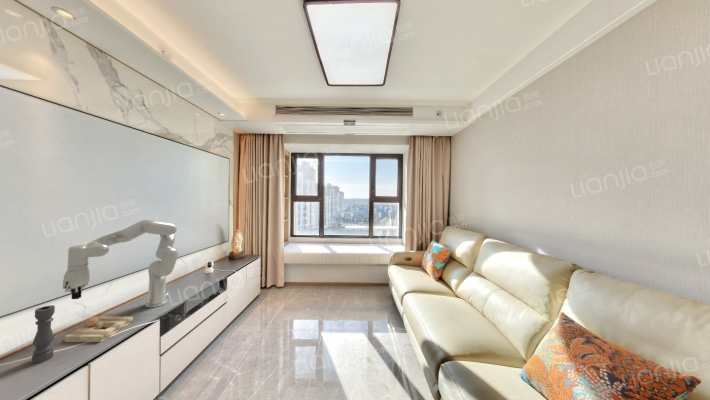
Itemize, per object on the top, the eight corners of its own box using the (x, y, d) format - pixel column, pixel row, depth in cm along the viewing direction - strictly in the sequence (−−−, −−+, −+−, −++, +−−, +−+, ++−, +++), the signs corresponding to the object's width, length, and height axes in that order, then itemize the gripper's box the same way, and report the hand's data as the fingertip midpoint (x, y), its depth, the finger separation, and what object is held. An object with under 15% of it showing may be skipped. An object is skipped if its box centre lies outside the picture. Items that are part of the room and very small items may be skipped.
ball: (92, 323, 136) (92, 315, 136) (101, 323, 136) (101, 315, 136) (82, 328, 131) (83, 319, 131) (92, 328, 131) (93, 319, 131)
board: (101, 321, 143) (101, 316, 143) (132, 321, 145) (133, 316, 145) (64, 341, 123) (64, 336, 123) (101, 341, 125) (101, 336, 125)
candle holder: (42, 363, 108) (45, 311, 108) (26, 364, 107) (29, 311, 107) (57, 354, 114) (59, 305, 114) (42, 354, 113) (44, 305, 113)
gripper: (84, 262, 139) (83, 292, 139) (54, 271, 124) (53, 304, 124) (98, 263, 140) (96, 292, 140) (70, 271, 125) (68, 304, 125)
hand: (76, 298), depth 132 cm, fingers closed
